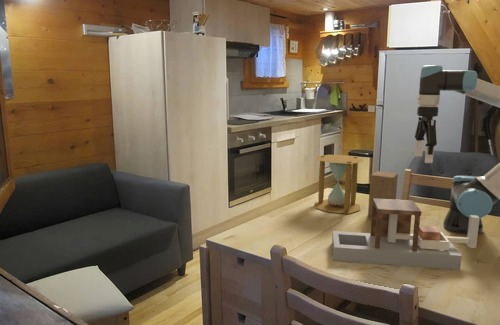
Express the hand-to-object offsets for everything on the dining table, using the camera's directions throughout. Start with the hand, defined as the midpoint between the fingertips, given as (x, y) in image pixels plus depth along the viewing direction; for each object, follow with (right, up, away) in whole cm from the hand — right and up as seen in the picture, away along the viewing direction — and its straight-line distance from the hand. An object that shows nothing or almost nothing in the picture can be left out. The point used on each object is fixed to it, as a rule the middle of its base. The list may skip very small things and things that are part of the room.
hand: (423, 159), depth 166 cm
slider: (-5, -30, -18) cm, 36 cm away
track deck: (-18, -35, -15) cm, 42 cm away
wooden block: (-8, -26, +29) cm, 40 cm away
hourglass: (-26, -24, +42) cm, 55 cm away
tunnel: (-18, -30, -16) cm, 39 cm away
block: (-6, -31, -18) cm, 36 cm away
